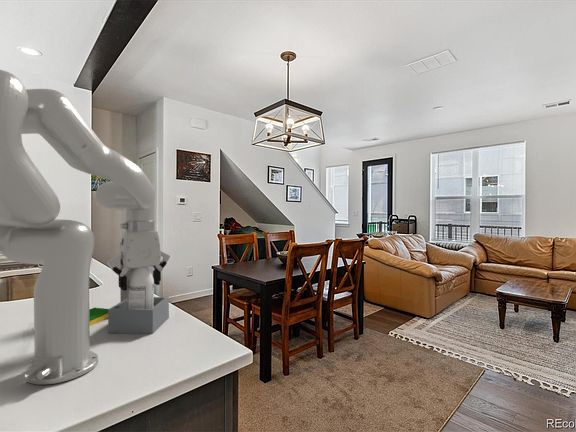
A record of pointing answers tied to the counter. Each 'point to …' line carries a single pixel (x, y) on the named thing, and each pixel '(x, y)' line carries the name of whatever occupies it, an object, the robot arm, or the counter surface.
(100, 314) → the dish sponge
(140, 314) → the holder
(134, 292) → the bath foam
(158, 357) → the counter surface
